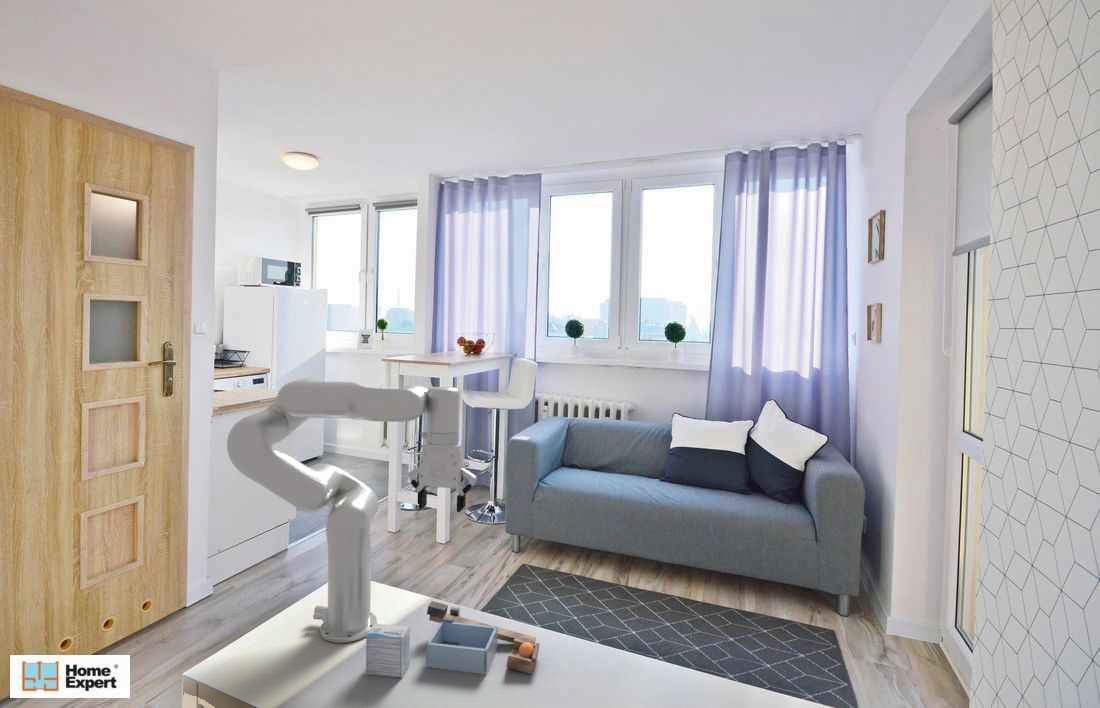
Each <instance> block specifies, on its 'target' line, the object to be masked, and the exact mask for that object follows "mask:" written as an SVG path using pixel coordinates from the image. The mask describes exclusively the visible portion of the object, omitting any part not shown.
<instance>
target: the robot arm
mask: <svg viewBox="0 0 1100 708" xmlns="http://www.w3.org/2000/svg"><path fill="white" fill-rule="evenodd" d="M460 394H461V393H460V390H459V389H458V388H456V387H453V386H435V387H433V386H432V387H431V386H425V385H419V384H409V385H406V386H404V387H402V388H378V387H367V386H364V385H363V386H362V385H360V384H359V383H356V382H353V381H318V380H317V379H313V378H300V379H297V380H293V381H290V382H287V383H285V384H284V385H283V386H281V387H280V389H279V391H278V392H277V395H276V400H275V401H273V402H272V403H271V405H269V406H267V407H266V408H265V409H264V410H262V411H259V412H256V413H252V414H250V415H247V416H245V417H242V418H241V419H240V420H238V421H237V422H236V423H235V424H234V425H233V426H232V428H231V429H230V431H229V433H228V436H227V442H226V449H227V455H228V458H229V459H230V460H229V461H230V462H231V463H232V465H233V467H235V468H236V470H238V472H239V473H241V474H242V475H244V476H245V477H247V478H248V479H250V480H251V481H253V482H255V483H257V484H259V485H260V486H262V487H263V488H265V489H267V490H268V491H270V492H272V493H273V494H274V495H275V496H277V497H279V498H281V499H283V501H285V502H287V503H288V504H290V505H292V506H293V507H295V508H296V509H298V510H300V511H301V512H303V513H310V514H311V513H316V512H319V511H321V510H322V509H324V508H325V507H327V508H329V509H330V510H329V512H328V514H327V516H326V517H327V518H326V523H325V533H326V541H327V574H328V575H327V606H323V605H316V606H315V608H314V610H313V613H314V614H313V615H312V616H313V617H312V618H313V620H320V621H322V623H321V625H320V630H319V631H320V632H319V633H320V634H319V635H320V636H321V638H322V639H323V640H325V641H327V642H330V643H337V644H338V643H340V644H344V643H351V642H354V641H355V642H356V641H359V640H361V639H364V638H366V635H367V634H368V632H369V631H370V630H371V629H372V627H373V626H374V625H375V624H378V618H377V616H376V614H374V613H372V612H371V598H372V597H371V594H372V592H371V588H372V587H371V585H372V584H371V582H372V581H371V580H372V574H371V573H372V546H371V545H372V543H371V534H370V533H371V523H372V522H373V520H374V518H375V516H376V514H377V512H378V510H379V499H378V496H377V494H376V492H375V491H374V490H373V489H372V488H371V487H369V486H367V484H365V483H363V482H362V481H360V480H359V479H357V478H356V477H353V476H352V475H351V474H349V473H347V472H346V471H344V470H342V469H341V468H340V467H337V466H336V465H332V464H330V463H323V462H322V463H317V464H314V465H313V464H312V465H311V466H310V467H309V466H308V465H305V464H304V463H303V462H300V461H299V460H297V459H296V458H295V457H293V456H291V455H289V454H287V453H285V452H283V451H280V450H277V449H276V448H274V447H273V445H275V444H277V443H280V442H281V441H283V440H284V439H286V438H287V437H288V436H289V435H291V434H292V433H293V432H294V431H295V430H297V428H298V427H300V426H301V425H303V424H304V423H305V422H306V421H307V420H309V419H311V418H312V419H315V418H317V419H321V418H322V419H349V420H358V421H359V420H360V421H367V422H380V423H382V422H384V423H385V422H386V423H387V422H391V423H399V422H400V423H404V422H405V423H406V422H411V421H414V420H417V419H418V418H419V417H420V416H421V415H427V416H426V417H427V418H426V420H427V424H426V425H427V426H426V427H427V428H426V431H425V432H423V431H422V433H421V438H423V439H425V441H426V442H424V443H423V444H422V449H421V454H420V461H419V466H418V467H417V468H414V469H413V470H410V471H408V472H407V476H408V478H409V481H410V483H411V486H413V488H414V489H415V492H416V493H417V504H418V509H419V510H422V509H423V508H425V507H426V506H427V504H428V498H427V497H428V490H427V489H426V487H431V488H440V489H455V490H456V492H457V493H458V495H457V496H456V513H461V512H462V511H463V510H464V509H465V508H466V501H467V500H466V499H467V498H466V497H467V496H466V495H467V493H468V492H469V491H470V490H471V489H472V488H473V487H474V485H475V483H476V482H477V480H478V477H477V476H476V475H475V474H473V473H472V472H471V471H469V470H467V469H466V468H465V466H464V465H465V462H464V453H463V447H462V443H459V441H460V440H459V439H460V438H459V437H460V406H461V405H460V401H461V399H460V397H461V395H460ZM417 475H418V478H417ZM465 478H466V479H467V480H468V483H466V485H465V484H464V483H463V482H464V479H465Z"/></svg>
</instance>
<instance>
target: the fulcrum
mask: <svg viewBox="0 0 1100 708" xmlns="http://www.w3.org/2000/svg"><path fill="white" fill-rule="evenodd" d="M460 610H461V609H460V607H453V606H452V607H450V609H449V611H450V612H449V614H451V615H455V616H458V617H461V616H460V612H461V611H460ZM444 622H446V623H452V622H453V618H447V617H445V618H444ZM442 643H444V644H453V645H459V644H460V643H458V642H449V641H442Z"/></svg>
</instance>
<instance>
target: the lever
mask: <svg viewBox="0 0 1100 708" xmlns="http://www.w3.org/2000/svg"><path fill="white" fill-rule="evenodd" d="M448 606H449V605H448V604H445V603H441V602H438V601H433V600H431V601H430V603H429V605H427V612H426V615H429V619H428V620H429V621H430V622H431V621H432V622H434V623H438V624H440V623H441V621H444V618H445V617H447V618H453V622H456V623H465V624H475V625H484V626H493V627H496V625H491V624H487V623H484V622H480V621H478V620H477V621H476V620H472V619H469V618H465V617H462V616H460V617H458V616H455V615H451V614H450V613H448V612H447V611H448ZM497 627H498V638H497V640H501V641H504V642H508V643H512V644H513V645H512V649H511V652H510V653H508V656H507V660H506V668H509V669H512V670H515V671H519V672H522V673H526V674H530V675H533V673H534V671H535V667H536V663H537V658H538V655H539V650H540V643H538V642H536V639H537V637H535V636H532V635H528V634H524V633H521V632H516V631H514V630H510V629H505V628H502V627H499V626H497ZM525 642H528V643H530V644H532V646H533V648H534V652H533V656H532V657H531V658H530V659H528V658H524V657H521V656H520V654H519V648H520V646H521V645H522V644H523V643H525Z"/></svg>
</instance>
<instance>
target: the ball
mask: <svg viewBox="0 0 1100 708" xmlns="http://www.w3.org/2000/svg"><path fill="white" fill-rule="evenodd" d="M533 652H534V648H533V646H532V644H530V643H528V642H525V643H523V644H522V645H521V646H520V648H519V654H520V656H521V657H524V658H528V659H530V658H531V657H532V656H533Z"/></svg>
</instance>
